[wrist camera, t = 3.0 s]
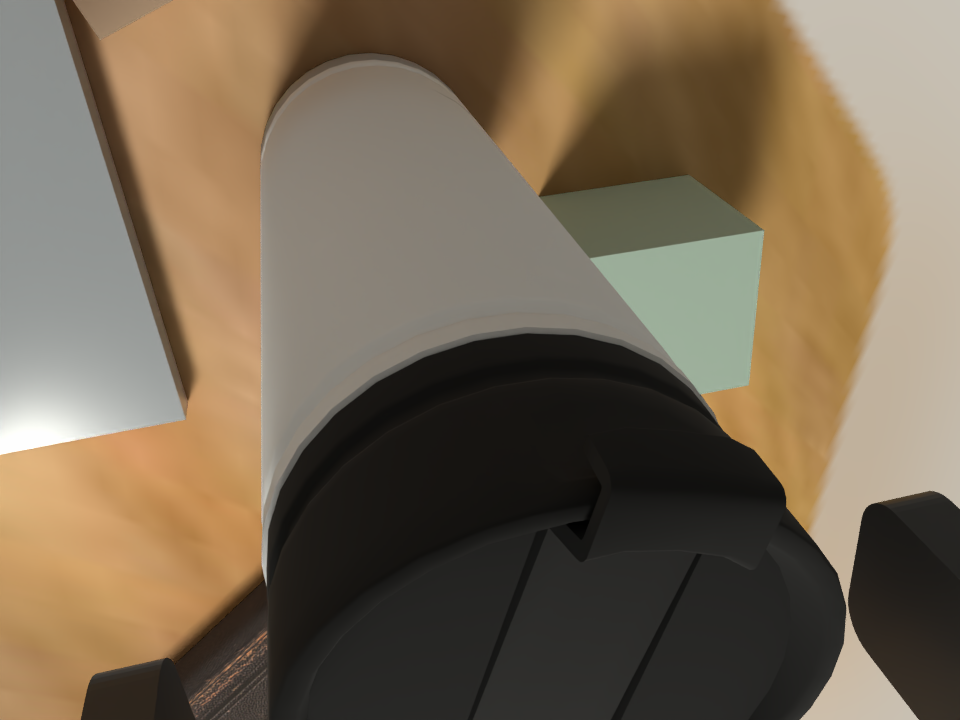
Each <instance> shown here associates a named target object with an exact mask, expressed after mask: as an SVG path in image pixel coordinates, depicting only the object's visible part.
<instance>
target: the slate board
mask: <svg viewBox="0 0 960 720" xmlns="http://www.w3.org/2000/svg"><path fill="white" fill-rule="evenodd" d="M187 407H188V401H187V398H186V394H185V391H184V388H183V385H182V381H181V378H180V375H179V372H178V368H177V365H176V362H175V359H174V355H173V352H172V349H171V346H170V342H169V339H168V336H167V333H166V330H165V326H164V323H163V320H162V317H161V313H160V310H159V307H158V304H157V300H156V297H155V294H154V291H153V287H152V284H151V281H150V278H149V274H148V271H147V268H146V265H145V261H144V258H143V255H142V252H141V248H140V245H139V242H138V239H137V235H136V232H135V229H134V226H133V223H132V219H131V216H130V213H129V210H128V206H127V203H126V200H125V197H124V193H123V190H122V187H121V184H120V180H119V177H118V174H117V171H116V167H115V164H114V161H113V158H112V154H111V151H110V148H109V145H108V141H107V138H106V135H105V132H104V128H103V125H102V122H101V119H100V116H99V112H98V109H97V106H96V103H95V99H94V96H93V93H92V90H91V86H90V83H89V80H88V77H87V73H86V70H85V67H84V64H83V60H82V57H81V54H80V51H79V47H78V44H77V41H76V38H75V34H74V31H73V28H72V25H71V21H70V18H69V15H68V12H67V9H66V5H65V2H64V0H0V454H5V453H10V452H15V451H21V450H26V449H31V448H37V447H42V446H47V445H53V444H58V443H63V442H69V441H74V440H79V439H85V438H90V437H95V436H101V435H106V434H111V433H117V432H122V431H127V430H133V429H138V428H143V427H149V426H154V425H159V424H165V423H170V422H175V421H181V420H186V414H187Z"/></svg>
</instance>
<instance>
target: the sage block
mask: <svg viewBox="0 0 960 720" xmlns="http://www.w3.org/2000/svg"><path fill="white" fill-rule="evenodd" d="M540 199H541V200H542V201H543V202H544V204H545V205H546V206H547V207H548V208H549V210H550V211H551V212H552V213H553V214H554V216H555V217H556V218H557V219H558V221H559V222H560V223H561V224H562V225H563V227H564V228H565V229H566V230H567V232H568V233H569V234H570V235H571V236H572V238H573V239H574V240H575V241H576V242H577V244H578V245H579V246H580V247H581V249H582V250H583V251H584V252H585V253H586V255H587V256H588V257H589V258H590V260H591V261H592V262H593V263H594V264H595V266H596V267H597V268H598V269H599V271H600V272H601V273H602V274H603V275H604V277H605V278H606V279H607V280H608V281H609V283H610V284H611V285H612V286H613V288H614V289H615V290H616V291H617V292H618V294H619V295H620V296H621V297H622V299H623V300H624V301H625V302H626V303H627V305H628V306H629V307H630V308H631V309H632V311H633V312H634V313H635V314H636V316H637V317H638V318H639V319H640V320H641V322H642V323H643V324H644V325H645V327H646V328H647V329H648V330H649V331H650V333H651V334H652V335H653V336H654V337H655V339H656V340H657V341H658V342H659V344H660V345H661V346H662V347H663V348H664V350H665V351H666V352H667V354H668V355H669V356H670V358H671V359H672V360H673V362H674V363H675V364H676V366H677V367H678V368H679V369H681V370H682V372H683V373H684V374H685V375H686V376H687V378H688V379H689V380H690V381H691V383H692V384H693V385H694V387H695V388H696V389H697V391H698V392H699V393H700V394H704V393H710V392H715V391H720V390H726V389H731V388H736V387H742V386H747V385H749V377H750V367H751V357H752V347H753V337H754V327H755V317H756V307H757V297H758V287H759V277H760V267H761V257H762V247H763V236H764V230H763V229H762V228H760V227H759V226H758V225H756V224H755V223H754V222H752V221H751V220H749V219H748V218H747V217H745V216H744V215H743V214H741V213H740V212H739V211H737V210H736V209H735V208H733V207H732V206H731V205H729V204H728V203H726V202H725V201H724V200H722V199H721V198H720V197H718V196H717V195H716V194H714V193H713V192H712V191H710V190H709V189H708V188H706V187H705V186H703V185H702V184H701V183H699V182H698V181H697V180H695V179H694V178H693V177H691V176H690V175H684V176H677V177H670V178H664V179H657V180H650V181H643V182H636V183H630V184H623V185H616V186H609V187H603V188H596V189H589V190H582V191H576V192H569V193H562V194H555V195H548V196H542V197H540Z"/></svg>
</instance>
